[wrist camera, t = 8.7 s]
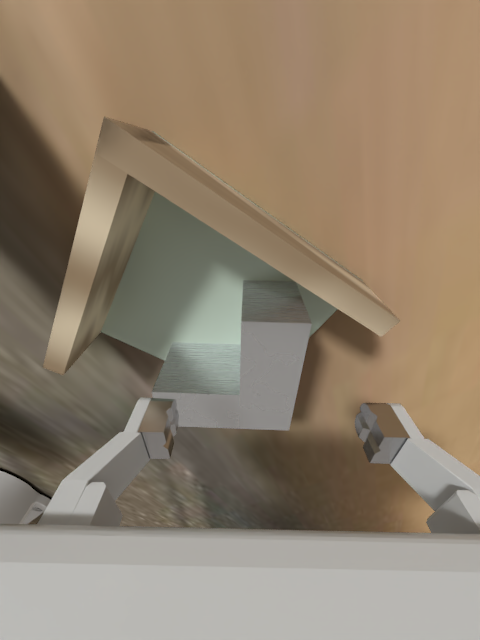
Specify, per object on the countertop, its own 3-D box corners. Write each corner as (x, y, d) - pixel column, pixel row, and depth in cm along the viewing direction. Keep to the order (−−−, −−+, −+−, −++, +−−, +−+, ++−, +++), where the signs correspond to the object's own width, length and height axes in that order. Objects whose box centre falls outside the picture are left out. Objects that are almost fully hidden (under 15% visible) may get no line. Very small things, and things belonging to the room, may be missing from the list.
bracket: (281, 377, 21) (289, 430, 17) (178, 373, 21) (160, 425, 17) (295, 281, 16) (311, 323, 12) (161, 277, 16) (131, 318, 12)
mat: (248, 394, 23) (248, 397, 23) (88, 322, 19) (85, 325, 19) (361, 280, 16) (364, 282, 16) (153, 131, 12) (150, 130, 12)
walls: (248, 394, 23) (247, 446, 19) (88, 322, 19) (42, 367, 15) (361, 280, 16) (400, 321, 12) (153, 131, 12) (104, 116, 8)
